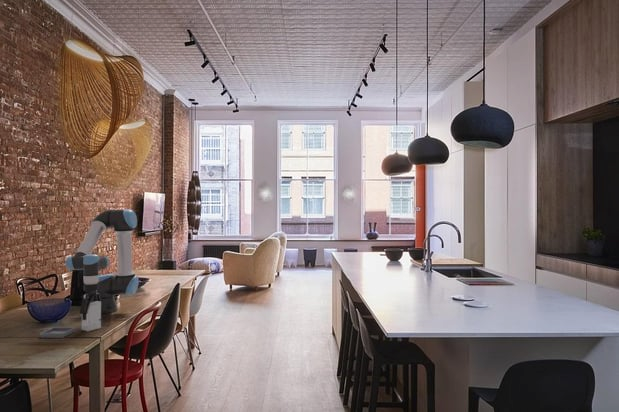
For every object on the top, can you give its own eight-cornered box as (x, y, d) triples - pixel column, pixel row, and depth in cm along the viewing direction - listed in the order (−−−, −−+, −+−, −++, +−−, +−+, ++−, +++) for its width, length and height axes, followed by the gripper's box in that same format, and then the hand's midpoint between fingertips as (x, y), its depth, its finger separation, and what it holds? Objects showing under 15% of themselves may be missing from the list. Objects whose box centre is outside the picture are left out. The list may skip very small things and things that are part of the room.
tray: (53, 331, 255) (53, 327, 255) (76, 331, 254) (76, 327, 254) (39, 337, 242) (39, 333, 242) (63, 337, 242) (63, 333, 242)
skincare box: (88, 331, 253) (87, 303, 253) (80, 330, 256) (80, 302, 256) (101, 328, 261) (101, 301, 261) (94, 326, 264) (94, 300, 264)
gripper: (95, 279, 271) (95, 317, 271) (72, 286, 247) (72, 328, 247) (108, 279, 270) (108, 317, 270) (86, 287, 246) (86, 328, 246)
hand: (91, 322), depth 258 cm, fingers open, 12 cm apart
